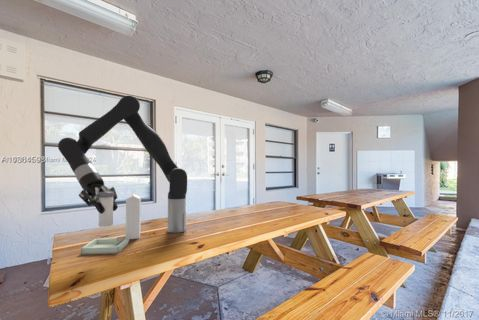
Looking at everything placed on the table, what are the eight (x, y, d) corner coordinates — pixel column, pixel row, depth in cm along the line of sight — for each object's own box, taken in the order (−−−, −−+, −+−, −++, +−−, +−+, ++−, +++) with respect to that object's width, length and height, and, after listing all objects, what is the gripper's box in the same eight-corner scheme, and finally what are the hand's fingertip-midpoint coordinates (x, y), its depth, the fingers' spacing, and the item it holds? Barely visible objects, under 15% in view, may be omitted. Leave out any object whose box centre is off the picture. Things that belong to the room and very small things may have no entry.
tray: (128, 243, 109) (128, 237, 109) (118, 253, 97) (118, 247, 97) (95, 244, 107) (95, 238, 107) (80, 254, 95) (80, 248, 95)
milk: (125, 239, 114) (125, 192, 114) (127, 235, 120) (127, 191, 120) (139, 238, 116) (139, 192, 116) (140, 234, 121) (140, 190, 121)
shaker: (115, 223, 96) (116, 191, 96) (110, 226, 91) (110, 193, 91) (101, 223, 95) (102, 191, 95) (95, 226, 90) (95, 193, 90)
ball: (123, 243, 107) (124, 236, 107) (121, 245, 104) (121, 238, 104) (116, 243, 107) (116, 236, 107) (114, 245, 104) (114, 238, 104)
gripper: (74, 172, 90) (96, 207, 85) (109, 170, 103) (130, 201, 98) (65, 185, 92) (86, 221, 87) (100, 182, 105) (120, 213, 100)
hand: (109, 210), depth 92 cm, fingers closed on shaker, 4 cm apart
